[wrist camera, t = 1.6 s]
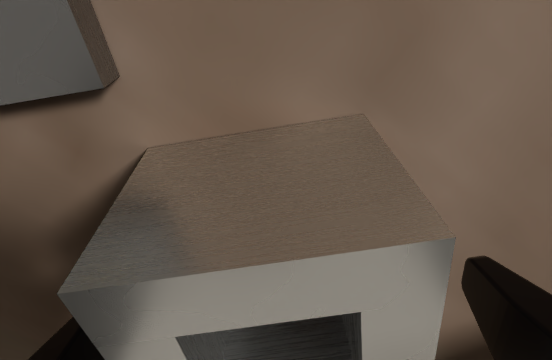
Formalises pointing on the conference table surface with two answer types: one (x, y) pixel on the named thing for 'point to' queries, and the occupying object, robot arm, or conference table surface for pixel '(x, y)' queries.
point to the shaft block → (51, 50)
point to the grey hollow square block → (267, 252)
